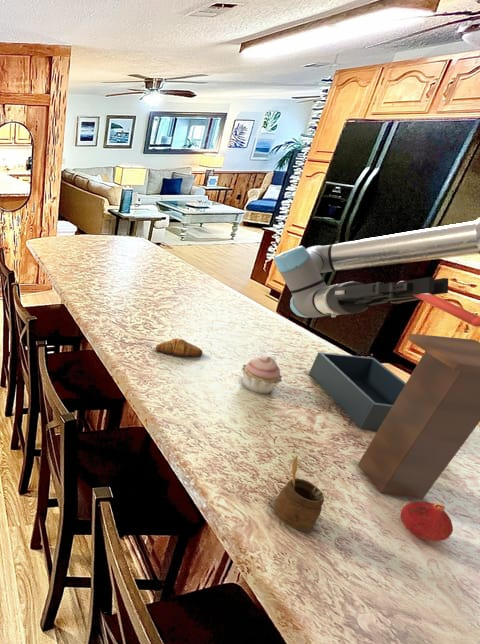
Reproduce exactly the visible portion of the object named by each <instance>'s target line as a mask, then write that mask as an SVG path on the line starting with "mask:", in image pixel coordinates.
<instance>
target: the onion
mask: <svg viewBox="0 0 480 644" xmlns="http://www.w3.org/2000/svg"><path fill="white" fill-rule="evenodd" d="M445 510H446V507H445V505H444V504H442V503H441V502H429V501H425V500H424V501H423V500H419V501H418V500H417V501H416V500H413V501H411V502H409V503H407V504H405V505H404V506H402V508H401V511H400V521H401V522H402V524H403V526H404V527H405V529H406V530H408V532H410V533H411V535H413V536H414V537H416V538H419V539H422V540H425V541H429V542H441V541H442V542H443V541H445V540H447V539H448V538H449V537H450V536H451V535H452V534H453V531H454V528H453V522H452V520H451V518H450V516H449V515H448V514H447V512H446V511H445Z"/></svg>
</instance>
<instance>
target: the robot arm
mask: <svg viewBox="0 0 480 644" xmlns="http://www.w3.org/2000/svg"><path fill="white" fill-rule="evenodd" d="M473 255H474V256H475V255H480V217H477V219H476V220H472V221H466V222H461V223H456V224H455V223H454V224H449V225H441V226H436V227H430V228H424V229H418V230H411V231H405V232H399V233H394V234H388V235H382V236H375V237H369V238H362V239H358V240H350V241H345V242H339V243H333V244H327V245H312V246H308V247H305V246H304V245H298V246H296V247H294V248H291V249H288V250H286V251H284V252H282V253H279V254H277V255H275V256H274V258H273V262H274V264H275V267H276V269H277V271H278V272H279V274H280V276H281V277H282V279H283V280H284V281H283V282H285V284H286V286H287V288H288V290H289V291H290V293H291V298H290V301H289V302H290V303H289V308H290V310H291V311H292V312H293V313H294V314H295V315H296V316H298V317H301V318H311V319H314V318H315V319H316V318H317V319H318V318H321V317H331V318H336V317H337V316H339V315H340V316H341V315H353V314H355V315H356V314H361V313H363V312H365V311H366V310H368V309H369V307H370V306H377V305H380V304H387V303H389V301H390V303H391V304H394V305H400V304H402V303H406V302H414V301H418V300H421V299H419V298H417V297H415V296H413V295H414V294H422V293H431V294H433V295H435V296H437V295H443V294H444V295H445V294H449V278H448V277H442V278H436V279H435V277H434V276H427V277H420V278H416V279H410V280H409V279H408V280H402V281H403V282H400V281H398V282H394V281H393V282H388V283H387V282H386V283H384V282H381V281H378V282H371V283H365V284H363V283H362V282H359V281H348V282H347V281H346V282H342V283H336V284H332V285H327V284H326V282H325V280H324V279H323V277H322V275H321V274H323V273H331V272H338V271H339V272H340V271H345V270H346V271H347V270H355V269H362V268H372V267H373V268H374V267H381V266H389V265H398V264H406V263H413V262H414V263H415V262H424V261H431V260H433V261H434V260H440V259H441V260H442V259H449V258H456V257H457V258H458V257H466V256H473ZM397 283H398V284H397Z"/></svg>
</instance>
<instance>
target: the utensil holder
mask: <svg viewBox="0 0 480 644" xmlns="http://www.w3.org/2000/svg"><path fill="white" fill-rule="evenodd" d="M297 471H298V454H296V455H295V456H294V457H293V458H292V465H291V474H292V478H291V479H290V480H289V481H288V482H287V483H286V485H285V486H283V487H282V488H281V490H280V491H279V493H278V495H277V497H276V499H275V502H274V503H273V511H274V514H275V515H276V516H277V518H278V519H279V520H280V521H281V522H282V523H283V524H285V525H286V526H288V527H290V528H291V529H294V530H296V531H302V532H307V531H310V530H311V529H312V528H313V527H314V525H315V524H316V522H317V521H318V519H319V517H320V515H321V513H322V509H323V507H322V506H323V505H324V502H325V499H327V498H329V497H330V496H331V494H330V493H331V491H327V492H326V493H323V491H324V490H325V489H326V488H327V487H328V486H329V485H330V484H331V485H332V487H331V490H333V491H332V493H334V492H335V490H334V488H335V484H334V483H332V481H331V480H330V481H328V479H326V478H323V479H322V480H317V481H316V482H315V484H313V482H310V481H308V480H306V479H302V478H296V473H297ZM322 481H324V482H323V483H326V484H325V485H324V486H323V487H322V488H321V489H320V488H319V487H318V486H319V485H320V484H321V483H322Z"/></svg>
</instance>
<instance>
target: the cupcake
mask: <svg viewBox="0 0 480 644" xmlns="http://www.w3.org/2000/svg"><path fill="white" fill-rule="evenodd" d="M241 372H242V375H243V376H242V384H243V386H244V388H247V389H248V390H249V391H251V392H253V393H257V394H261V395H263V394H264V395H265V394H267V395H268V394H270V393H271V391H272V390H273V389H274V388H275V387H276V386H277V385H279V384H280V383H282V382H283V379H282V378H283V376H282V375H281V370H280V367H279V365H278V363H277V362H276V360H275V359H274V358H272V357H271V356H268V355H264V356H260V357H253V358H251V359H250V360H249V361H248V362H247V363H246V364H242V367H241Z"/></svg>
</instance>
